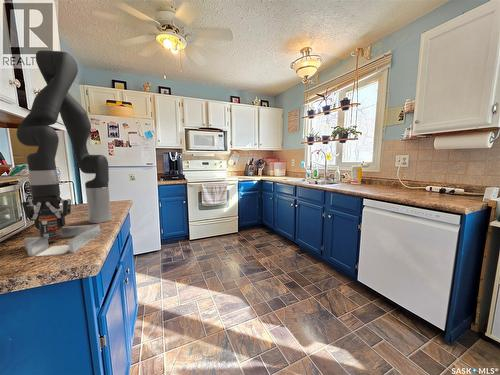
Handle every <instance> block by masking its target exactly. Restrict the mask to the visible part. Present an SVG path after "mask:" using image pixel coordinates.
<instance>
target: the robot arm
mask: <svg viewBox="0 0 500 375" xmlns="http://www.w3.org/2000/svg"><path fill="white" fill-rule="evenodd" d="M35 62H36V65H37V67H38V69H39V71H40V73H41V76H42V77H43V79H44V81H45V83H46V85H45V86H44V87H43V88H42V89H41V90H40V91H39V92H38V93H37V94H36V96H35V97H34V99H33V102H32V105H31V109H30V111H29V113H28V114H27V115H25V117H24V119H23V120H22V121H21V122H20V124H19V125H18V126H17V129H16V138H17V140H18V142H19V143H20V144H22V145H23V146H25V147H37V150H36V152H33V153H29V154H28V155H27V157H26V161H27V167H28V180H29V181H28V182H29V188H30V195H31V197H32V200H26V201H23V202H21V206H22V208H23V211H24V214H25V217H26V218H27V219H32V220H33V221H34V227H35V228H36V229H37V230H40V228H39V220H38V218H39V216H40V215H41V214H42V213H41V210H48V209H50V210H51V211H52V212H53V213H54V214H55V215H56V216H57V217H58V218H57V222H58V228H62V227H65V226H66V217H67V216H69V215H71V213H72V212H71V210H72V199H70V198H68V199H65V198H64V199H63V198H61V190H60V189H61V188H60V187H61V186H60V181H59V175H58V170H57V166H56V164H57V163H56V156H57V153H58V152H57V151H58V147H59V141H60V140H59V135H58V133H57V131H56V130H55V129H54V128H53V127H51V126H52V125H53V126H54V125H55V124H56V123H57V122H58V119H59V115H60V118H61V120H62V123H63V125H64V128H65V130H66V132H67V135H68V137H69V139H70V142H71V144H72V149H73V152H74V156H75V159H76V162H77V166H78V167H79V170H80V171H81V172H82V173H84V174H87V175H88V174H91V175H93V174H95V175H94V178H93V179H90V180H88V181H85V183H84V187H85V188H84V189H85V194H86V195H85V197H86V204H87V206H86V207H87V214H88V215H87V216H88V222H89V224H100V223H101V224H102V223H106V222H109V221H111V220H112V212H111V209H112V208H111V200H110V190H109V181H110V174H109V173H110V172H109V171H110V170H109V168H110V167H109V162H108V159H107V158H108V157H106V156H105V155H103V154H90V153H89V150H88V146H87V143H88V139H89V137H90V134H91V132H92V125H91V121H90V119H89V115H88V113H87V111H86V109H85V108H84V107H83V106H82V105H81V104H80V103H79V102H78V101H77V100H76V98H74V96H72V95H71V93H70V92H69V90H70V88H72V85H73V83H74V82H75V79H76V78H77V75H78V72H79V68H78V64H77V61H76V60H75V58H74V57H73V56H72V54H70V53H68V52H67V51H61V50H43V49H41V50H38V51H37V52H36V53H35ZM61 205H62V207H61ZM34 206H35V209H34Z"/></svg>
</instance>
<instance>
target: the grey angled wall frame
mask: <svg viewBox="0 0 500 375" xmlns="http://www.w3.org/2000/svg"><path fill="white" fill-rule="evenodd" d="M100 227H101V226H100V224H90V225H89V224H86V225H85V224H84V225H72V226H71V225H70V226H64V227H62V232H63V236H62V237H61V238H71V239H70V240H67V242H68V244H67V245H69V251H68V252H69V253H70V254H71V253H75V252H77V251H78V250H80V249H81V248H82V247H84V246H85V245H86V244H89V242H91V241H93V239H95V238H97V237H98V236H99V235H101V228H100ZM61 238H60V239H61ZM23 243H24V248H25V251H27V255H28V257H34V256H36V255H38V254H40V253H41V252H43V251H45V250H47V249H49V248H50V245H49V241H48V236H44V237H41V236H33V237H32V236H31V237H24V238H23Z"/></svg>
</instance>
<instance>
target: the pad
mask: <svg viewBox="0 0 500 375" xmlns="http://www.w3.org/2000/svg"><path fill="white" fill-rule="evenodd" d="M68 252H69V244H64V245H63V244H62V245H52V246H51V247H50V246H49V247H48V248H47V249H45V250H43V251H41V252H39V253H38V254H36V255H35V257H46V256H47V257H48V256H59V255H60V256H61V255H65V254H66V253H68Z"/></svg>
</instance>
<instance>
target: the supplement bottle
mask: <svg viewBox="0 0 500 375" xmlns="http://www.w3.org/2000/svg"><path fill="white" fill-rule="evenodd" d="M41 213H42V214H41V215H40V216H39V218H38V220H39V228H40V229H39V234H40V236H39V237H44V236H48V242H49V241H53V240H57V239H61V237H62V236H63V232H62V228H58V222H57V218H58V217H57V216H56V215H55V214H54V213H53V212H52V211H51V210H50V209H48V210H41ZM62 238H63V237H62Z"/></svg>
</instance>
